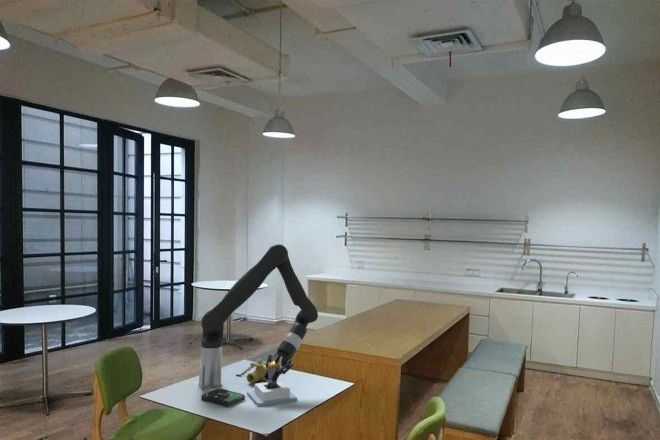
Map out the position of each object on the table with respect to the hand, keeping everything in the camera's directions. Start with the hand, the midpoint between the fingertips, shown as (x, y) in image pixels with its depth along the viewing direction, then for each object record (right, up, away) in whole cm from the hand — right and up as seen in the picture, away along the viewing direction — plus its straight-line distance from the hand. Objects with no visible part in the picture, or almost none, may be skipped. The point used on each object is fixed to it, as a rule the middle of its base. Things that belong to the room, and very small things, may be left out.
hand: (269, 379), depth 193 cm
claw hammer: (-15, -9, +38) cm, 42 cm away
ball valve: (-6, -9, +22) cm, 25 cm away
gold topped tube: (+1, -5, +1) cm, 5 cm away
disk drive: (-19, -8, -3) cm, 20 cm away
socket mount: (+1, -8, +1) cm, 8 cm away
